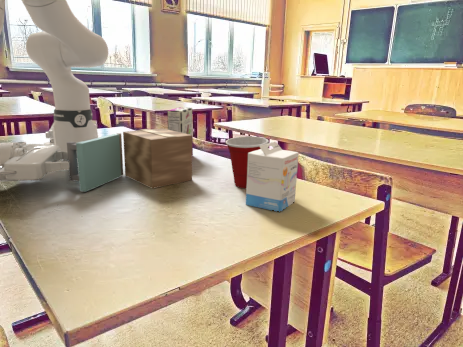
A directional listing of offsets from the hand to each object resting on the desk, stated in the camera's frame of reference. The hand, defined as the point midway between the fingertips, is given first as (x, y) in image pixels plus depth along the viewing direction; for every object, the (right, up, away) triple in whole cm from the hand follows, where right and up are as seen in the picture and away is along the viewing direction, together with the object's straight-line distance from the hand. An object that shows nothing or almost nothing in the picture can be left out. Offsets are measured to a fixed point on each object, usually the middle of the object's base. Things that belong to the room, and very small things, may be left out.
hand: (73, 160), depth 85 cm
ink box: (+46, -10, -5) cm, 48 cm away
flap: (+3, -5, +5) cm, 8 cm away
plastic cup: (+41, -6, +7) cm, 42 cm away
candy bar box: (+21, +2, +34) cm, 40 cm away
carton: (+18, -4, +11) cm, 22 cm away
